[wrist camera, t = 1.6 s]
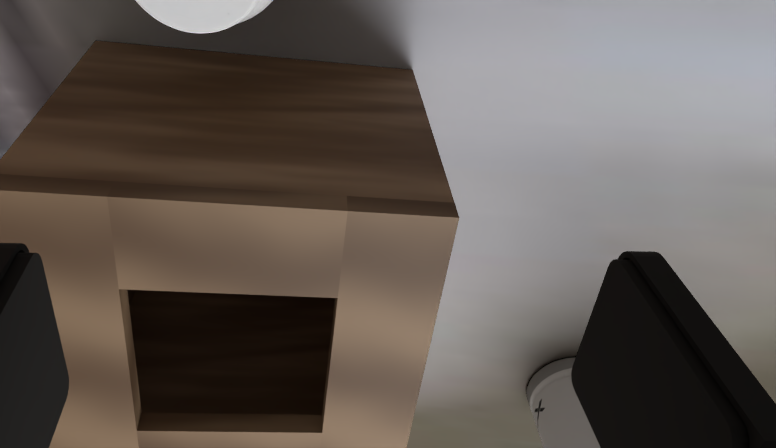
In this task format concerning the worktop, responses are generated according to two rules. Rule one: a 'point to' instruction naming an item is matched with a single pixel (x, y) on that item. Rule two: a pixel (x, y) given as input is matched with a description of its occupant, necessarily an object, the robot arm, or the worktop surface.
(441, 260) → the box
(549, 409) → the travel mug
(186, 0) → the pill bottle
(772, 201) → the worktop surface
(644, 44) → the worktop surface
